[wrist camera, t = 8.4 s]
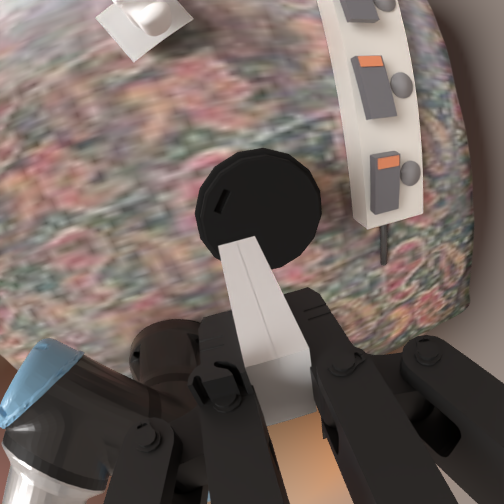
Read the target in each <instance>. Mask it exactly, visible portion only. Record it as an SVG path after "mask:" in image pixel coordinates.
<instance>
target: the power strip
mask: <svg viewBox="0 0 504 504" xmlns="http://www.w3.org/2000/svg"><path fill="white" fill-rule="evenodd" d="M373 3H374V5H375V8H376V11H377V14H378V17H379V20H378V21H377V22H375V23H355V22H347V21H346V17H345V15H344V12H343V9H342V6H341V3H340V0H317V4H318V7H319V11H320V15H321V19H322V23H323V27H324V32H325V36H326V40H327V45H328V49H329V54H330V58H331V63H332V68H333V73H334V78H335V84H336V89H337V95H338V101H339V106H340V113H341V119H342V125H343V132H344V139H345V146H346V154H347V162H348V171H349V180H350V189H351V199H352V211H353V219H355V220H356V221H357V222H358V223H360V224H361V225H362V226H364V227H365V228H366V229H367V230H368V229H371V228H375V227H378V226H380V245H381V265H383V266H385V265H386V264H387V224H389V223H392V222H396V221H399V220H403V219H406V218H410V217H413V216H417V215H420V214H423V168H422V148H421V134H420V123H419V113H418V104H417V96H416V89H415V82H414V75H413V69H412V63H411V58H410V52H409V47H408V42H407V38H406V33H405V29H404V24H403V20H402V16H401V12H400V8H399V5H398V1H397V0H373ZM372 55H382V58H383V61H384V65H385V68H386V72H387V76H388V79H389V83H390V87H391V91H392V95H393V99H394V103H395V108H396V112H397V116H395V117H388V118H379V119H370V120H366V117H365V113H364V109H363V105H362V101H361V97H360V93H359V89H358V85H357V81H356V77H355V74H354V70H353V67H352V63H351V60H350V59H351V58H353V57H354V56H372ZM389 151H396V152H398V153H400V191H399V209H396V210H392V211H388V212H385V213H381V214H377V215H375V214H374V213H373V212H371V211H370V155H372V154H377V153H383V152H389Z"/></svg>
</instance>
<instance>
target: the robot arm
mask: <svg viewBox="0 0 504 504" xmlns="http://www.w3.org/2000/svg"><path fill="white" fill-rule="evenodd" d="M218 248H219V253H220V258H221V262H222V267H223V272H224V276H225V281H226V286H227V290H228V295H229V300H230V304H231V309H232V310H230V311H227V312H223V313H219V314H215V315H212V316H208V317H204V318H203V320H202V322H201V324H200V323H197V322H194V321H189V320H166V321H161V322H158V323H155V324H152V325H150V326H148V327H147V328H145V329H144V330H142V331H141V332H140V333H139V334H138V335H137V336H136V338H135V339H134V341H133V343H132V346H131V351H130V358H129V364H130V370H131V373H132V377H133V379H131V378H129V377H127V376H125V375H122V374H120V373H118V372H116V371H114V370H112V369H110V368H108V367H106V366H104V365H102V364H100V363H98V362H96V361H94V360H93V359H91V358H89V357H87V356H85V355H84V352H82V351H77V350H75V349H73V348H71V347H69V346H67V345H65V344H63V343H61V342H59V341H57V340H55V339H51V338H46V339H42V340H41V341H39V342H38V343H37V344H36V345H35V346H34V347H33V349H32V350H31V352H30V353H29V355H28V356H27V358H26V359H25V361H24V362H23V364H22V365H21V367H20V369H19V370H18V372H17V374H16V376H15V377H14V379H13V381H12V383H11V384H10V386H9V388H8V390H7V392H6V394H5V396H4V398H3V400H2V402H1V405H0V427H1V428H3V429H6V431H5V434H4V438H3V441H2V446H3V448H4V450H5V452H6V454H7V456H8V458H9V460H10V463H11V466H10V471H9V474H8V478H7V483H6V487H5V492H4V497H3V502H2V504H86V502H87V499H89V498H90V497H93V496H96V495H98V494H101V493H103V492H104V491H105V489H106V485H107V481H108V478H109V476H112V477H111V481H110V484H109V487H108V490H107V494H106V497H105V500H104V504H207V502H208V501H211V504H290V503H289V500H288V496H287V493H286V489H285V486H284V483H283V479H282V476H281V472H280V470H279V466H278V462H277V459H276V455H275V452H274V448H273V445H272V442H271V439H270V436H269V433H268V430H267V426H269V425H273V424H277V423H280V422H284V421H287V420H291V419H294V418H297V417H301V416H304V415H307V414H310V413H313V412H316V411H317V409H316V406H317V408H318V410H319V413H320V415H321V421H322V433H323V439H325V438H327V440H328V442H329V444H330V446H331V449H332V452H333V454H334V456H335V459H336V462H337V464H338V466H339V469H340V471H341V474H342V476H343V479H344V481H345V483H346V486H347V488H348V491H349V493H350V496H351V498H352V501H353V503H354V504H458V502H457V501H456V499H455V497H454V495H453V493H452V492H451V490H450V488H449V486H448V484H447V483H446V481H445V479H444V477H443V476H442V474H441V472H440V470H439V469H438V467H437V465H438V466H439V467H440V468H441V469H442V470H443V471H444V472H445V473H446V474H447V475H448V476H449V477H450V478H451V479H452V480H454V481H455V482H456V483H457V484H458V485H459V486H460V487H461V488H462V489H463V490H464V491H465V492H466V493H467V494H468V495H469V496H470V497H471V498H472V499H474V500H475V501H476V502H477V503H478V504H504V384H503V383H502V382H501V381H499V380H498V379H497V378H495V377H494V376H493V375H491V374H490V373H489V372H487V371H486V370H484V369H483V368H482V367H480V366H479V365H478V364H476V363H475V362H473V361H472V360H471V359H469V358H468V357H466V356H465V355H464V354H462V353H461V352H460V351H458V350H457V349H455V348H454V347H452V346H451V345H450V344H448V343H447V342H445V341H444V340H442V339H440V338H438V337H435V336H429V335H424V336H417V337H415V338H413V339H411V340H409V342H408V343H407V344H406V345H405V346H404V348H403V352H402V353H396V354H387V355H371V354H366V353H365V352H364V351H363V350H362V349H360V348H357V347H355V346H353V345H352V343H351V342H350V341H349V339H348V337H347V336H346V334H345V333H344V331H343V330H342V328H341V326H340V325H339V323H338V322H337V320H336V319H335V317H334V316H333V314H332V313H331V311H330V309H329V308H328V306H326V303H325V302H324V300H323V299H322V297H321V295H320V294H319V293H317V292H315V291H314V290H312V289H310V288H308V287H307V288H304V289H301V290H297V291H294V292H290V293H287V294H284V295H283V293H282V291H281V289H280V287H279V285H278V283H277V281H276V279H275V277H274V275H273V272H272V270H271V268H270V266H269V264H268V262H267V260H266V258H265V256H264V254H263V252H262V250H261V248H260V246H259V244H258V242H257V240H256V238H255V236H253V237H249V238H246V239H242V240H238V241H234V242H231V243H227V244H223V245H220V246H218ZM435 463H436V464H437V465H436V464H435Z"/></svg>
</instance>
